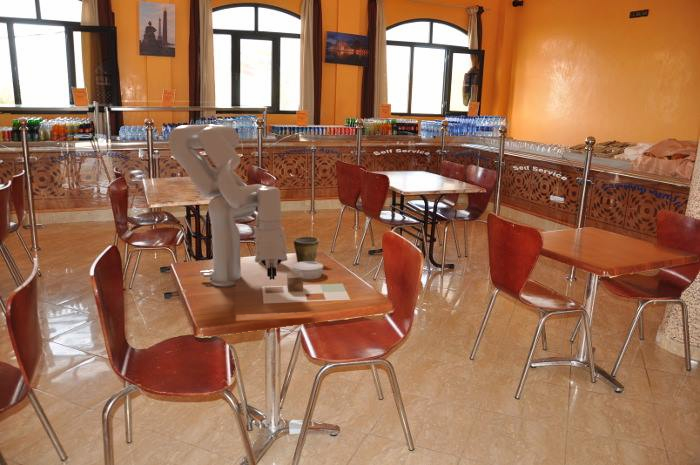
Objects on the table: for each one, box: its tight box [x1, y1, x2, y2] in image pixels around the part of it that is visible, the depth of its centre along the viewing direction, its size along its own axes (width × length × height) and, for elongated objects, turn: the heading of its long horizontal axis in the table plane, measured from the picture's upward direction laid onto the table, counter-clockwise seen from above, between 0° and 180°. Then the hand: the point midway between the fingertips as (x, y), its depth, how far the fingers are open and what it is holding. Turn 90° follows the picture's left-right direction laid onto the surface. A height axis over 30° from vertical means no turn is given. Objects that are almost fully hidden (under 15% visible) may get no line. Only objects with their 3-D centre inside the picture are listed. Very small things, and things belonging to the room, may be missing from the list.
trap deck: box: [261, 283, 351, 304], centre depth 189 cm, size 28×16×2 cm, turn 100°
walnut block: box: [286, 272, 304, 292], centre depth 192 cm, size 5×5×5 cm
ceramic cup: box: [293, 236, 320, 263], centre depth 226 cm, size 13×10×10 cm
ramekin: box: [292, 261, 324, 280], centre depth 208 cm, size 11×11×5 cm
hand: (271, 278), depth 189 cm, fingers closed
